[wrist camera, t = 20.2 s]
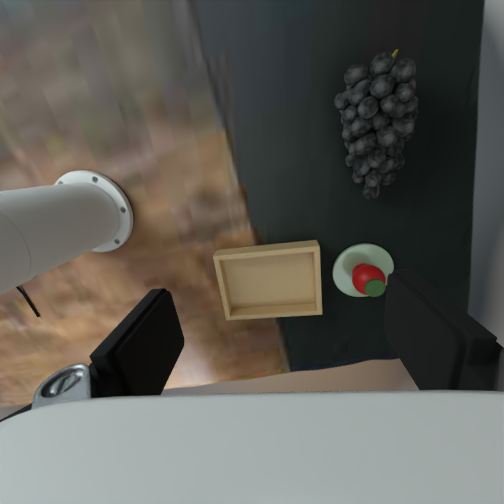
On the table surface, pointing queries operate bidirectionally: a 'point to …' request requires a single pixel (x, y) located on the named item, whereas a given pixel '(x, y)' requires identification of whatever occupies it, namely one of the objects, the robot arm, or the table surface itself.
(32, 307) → the electronic device
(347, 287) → the coaster
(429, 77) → the table surface
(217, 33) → the table surface
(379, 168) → the fruit
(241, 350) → the table surface
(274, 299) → the tray
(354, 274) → the strawberry
